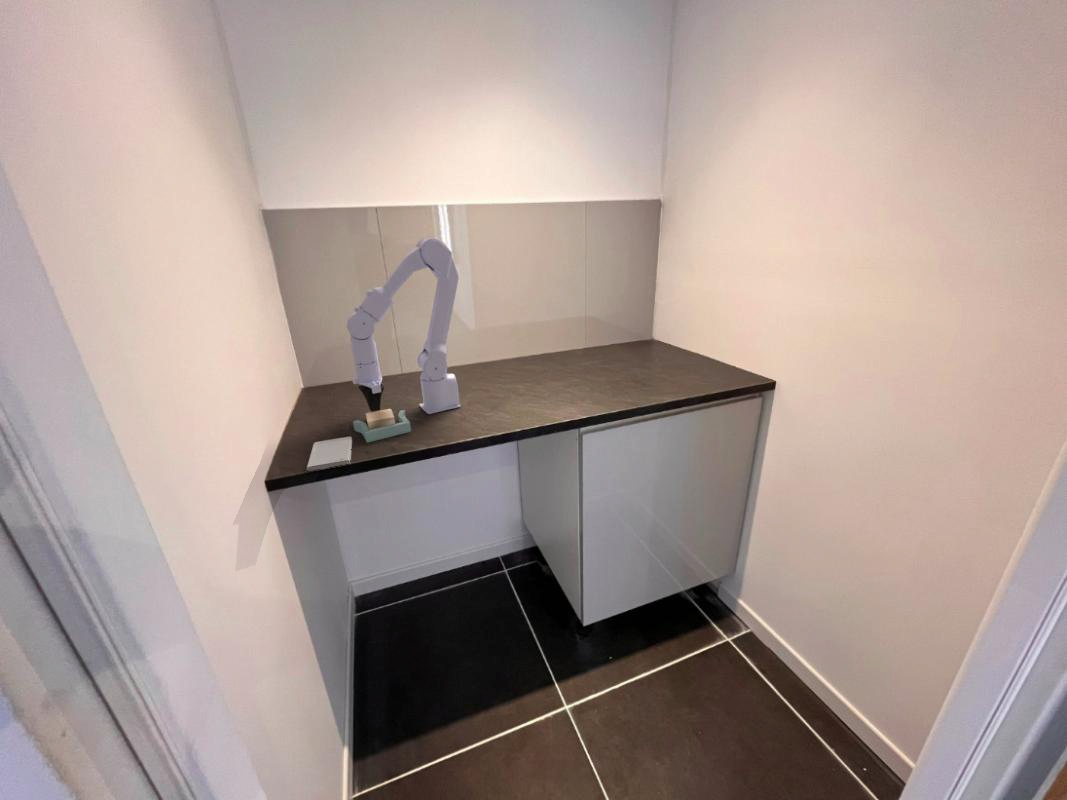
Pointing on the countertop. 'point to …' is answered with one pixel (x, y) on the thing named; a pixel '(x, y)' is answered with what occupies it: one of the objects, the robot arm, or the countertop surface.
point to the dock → (383, 429)
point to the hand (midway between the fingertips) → (375, 411)
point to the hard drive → (330, 453)
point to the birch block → (380, 418)
